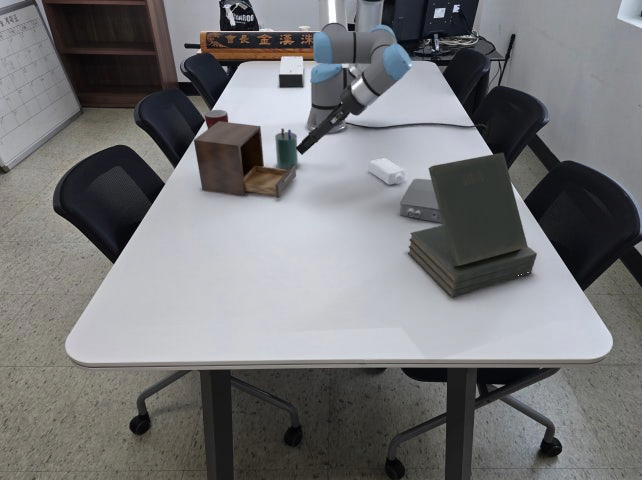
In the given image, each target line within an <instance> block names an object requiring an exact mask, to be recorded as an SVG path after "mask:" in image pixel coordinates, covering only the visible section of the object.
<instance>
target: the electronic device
mask: <svg viewBox="0 0 642 480" xmlns="http://www.w3.org/2000/svg"><path fill="white" fill-rule="evenodd" d="M399 215H400V216H403V217H410V218H415V219H420V220H425V221H430V222H435V223H441V224H443V223H442V219H441V215H440V211H439V208H438V204H437V200H436V196H435V192H434V188H433V184H432V180H431V179H426V178H414V179H413V180H412V181H411V182H410V184H409V186H408V188H407V189H406V191H405V193H404V194H403V197H402V199H401V200H400V207H399Z"/></svg>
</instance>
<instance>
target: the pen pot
mask: <svg viewBox="0 0 642 480" xmlns="http://www.w3.org/2000/svg"><path fill="white" fill-rule="evenodd" d="M280 130H281V131H280V132H277V133H276V134H275V135H274V140H275V153H276V154H275V155H276V168H277V169H284V170H288V169H289V168H290V167H291V166H292V165H293V164H296V169H297V168H298V167H299V158H298V151H297V149H296V147H297V146H298V136H297V135H298V134H296V133H295V132H292V131H291V129H288V130H287V131H285V128H283V127H282V128H281V129H280Z"/></svg>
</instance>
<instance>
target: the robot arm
mask: <svg viewBox="0 0 642 480" xmlns="http://www.w3.org/2000/svg"><path fill="white" fill-rule="evenodd" d="M384 1H385V0H356V9H355V23H354V31H349V28H348V17H347V5H346V0H318V15H319V16H318V19H319V32H318V31H317V32H314V33H313V35H312V36H313V37H312V38H313V39H312V40H313V41H312V42H313V47H312V48H313V49H312V50H313V61H314V62H315V63H316V64H317V65H315V66H313V68H312V69H311V71H310V81H309V82H310V102H311V105H310V111H309V114H308V118H307V122H306V127H307V129H308V130H309V132H308V134H307V135H306V136H305V137H304V138H303V139H302V140H301V142H300V143H299V144H297V147H296V149H297V153H299V154H300V155H301V156H303V155H304V154H306V152H307V151H309V150H310V149H311V148H312V147H313V146H314V145H316V144H317V143H318V142H319V141H320V140H321V139H322V138H323V137H324V136H326V135H327V134H328V135H329V134H337V133H340V132H343V131H344V130H345V129H346V127H347V125H349V126H352V127H356V128H363V129H369V130H371V129H372V130H381V129H382V130H383V129H390V128H400V127H408V126H409V127H410V126H411V127H412V126H445V127H456V128H462V129H472V128H477V127H482V128H484V130H485V129H488V127H487V126H486V125H484V124H481V123H479V124H474V125H460V124H453V123H443V122H442V123H441V122H416V123H415V122H414V123H413V122H412V123H401V124H393V125H384V126H370V125H369V126H368V125H362V124H356V123H352V122H347V121H346V119H348V117H349V115H350V114H351V115H353V116H356V117H357V116H360V115H361V114H362V113H363V112H365V111H366V110H367V109H368V107H370V106H372V105H373V104H374V103H375V102H376V101H377V100H378V99H379V98H380V97H381V96H383V95H384V94H385V93H386V92H388V90H390V88H392V87H393V86H395V84H396V83H398V82H399V81H401V79H402V78H403V77H404V76H405V75H406V74H407V73H408V72H409V71H410V70H411V69H412V65H413V63H412V59H411V58H410V55H409V54H408V52H407V51H406V50H405V49H404V47H403V46H402V45H400V44H399V43H398V40H397V38H396V35H395V33H394V30H393V29H392V28H391V27H390V26H388V25H385V24H382V17H383V9H384ZM347 64H348V67H343V65H347Z"/></svg>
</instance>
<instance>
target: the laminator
mask: <svg viewBox="0 0 642 480" xmlns="http://www.w3.org/2000/svg"><path fill="white" fill-rule="evenodd" d="M278 85H279V88H291V87H292V88H293V87H295V88H296V87H297V88H299V87H300V88H301V87H302V88H303V87H304V57H303V55H302V56H300V55H298V56H295V55H294V56H293V55H290V56H287V55H286V56H285V55H283V56H281V57H280V64H279V71H278Z"/></svg>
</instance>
